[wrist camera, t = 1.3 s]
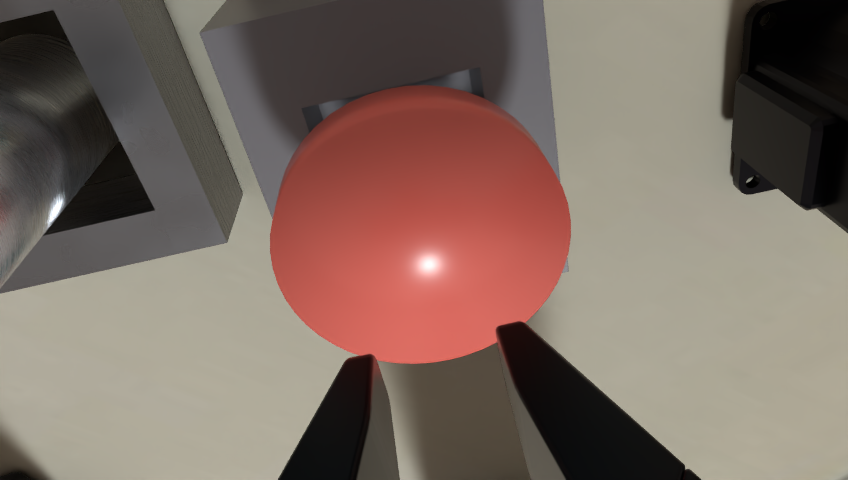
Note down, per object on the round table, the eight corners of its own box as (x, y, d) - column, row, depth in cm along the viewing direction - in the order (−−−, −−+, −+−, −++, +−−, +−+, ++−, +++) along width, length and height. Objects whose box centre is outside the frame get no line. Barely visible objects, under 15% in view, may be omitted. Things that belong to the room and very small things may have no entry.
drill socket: (126, -89, 16) (83, -76, 14) (242, 194, 21) (227, 242, 18) (-185, -13, 16) (-283, 13, 14) (-2, 249, 21) (-51, 305, 19)
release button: (509, 19, 13) (557, 74, 10) (536, 236, 16) (580, 331, 13) (254, 78, 14) (223, 151, 10) (327, 282, 17) (320, 387, 13)
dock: (489, -77, 17) (538, -48, 12) (522, 179, 21) (568, 271, 17) (241, -18, 17) (199, 32, 13) (323, 223, 22) (314, 326, 17)
